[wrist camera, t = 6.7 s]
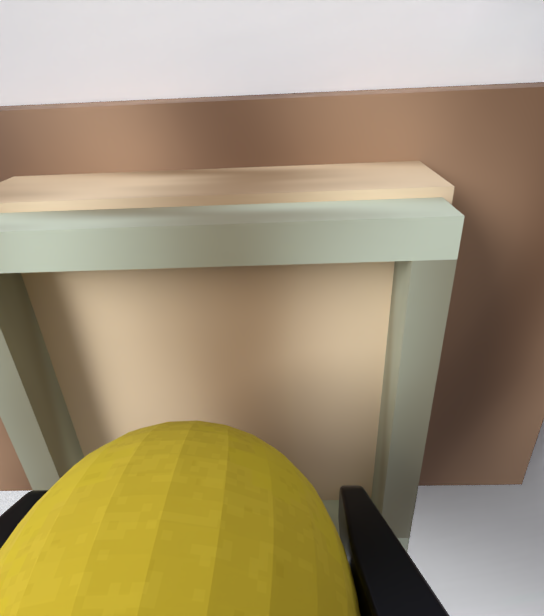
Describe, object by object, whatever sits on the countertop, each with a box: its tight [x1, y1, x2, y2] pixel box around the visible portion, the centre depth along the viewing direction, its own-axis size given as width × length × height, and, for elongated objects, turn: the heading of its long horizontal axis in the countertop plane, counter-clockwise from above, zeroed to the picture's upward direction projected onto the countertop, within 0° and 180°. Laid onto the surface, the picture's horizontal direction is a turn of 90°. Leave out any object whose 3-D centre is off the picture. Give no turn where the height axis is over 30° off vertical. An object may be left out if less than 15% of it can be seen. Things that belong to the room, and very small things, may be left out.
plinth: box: [0, 82, 544, 552], centre depth 12 cm, size 20×13×5 cm, turn 92°
